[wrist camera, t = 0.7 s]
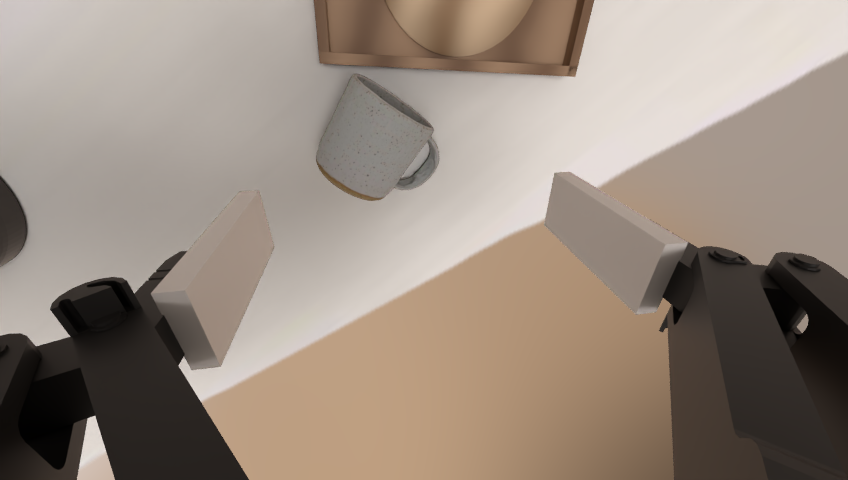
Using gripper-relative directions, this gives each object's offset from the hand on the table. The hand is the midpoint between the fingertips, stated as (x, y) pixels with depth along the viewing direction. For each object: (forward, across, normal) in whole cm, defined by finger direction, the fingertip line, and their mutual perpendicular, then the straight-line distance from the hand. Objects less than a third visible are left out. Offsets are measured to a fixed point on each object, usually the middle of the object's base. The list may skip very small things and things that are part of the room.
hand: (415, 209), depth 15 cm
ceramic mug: (+19, 0, -1) cm, 19 cm away
